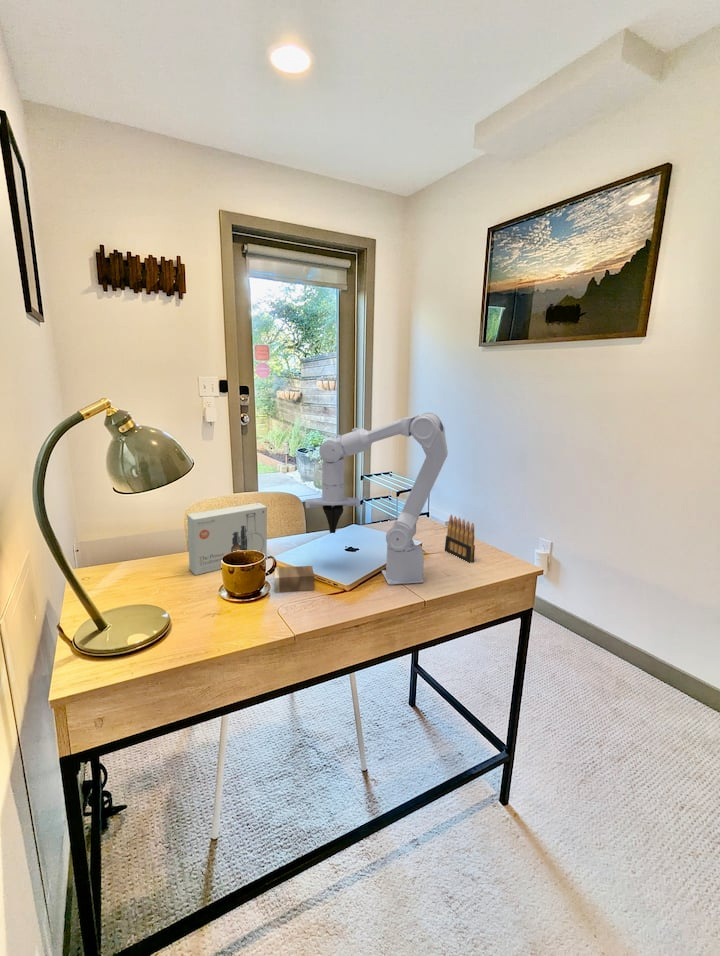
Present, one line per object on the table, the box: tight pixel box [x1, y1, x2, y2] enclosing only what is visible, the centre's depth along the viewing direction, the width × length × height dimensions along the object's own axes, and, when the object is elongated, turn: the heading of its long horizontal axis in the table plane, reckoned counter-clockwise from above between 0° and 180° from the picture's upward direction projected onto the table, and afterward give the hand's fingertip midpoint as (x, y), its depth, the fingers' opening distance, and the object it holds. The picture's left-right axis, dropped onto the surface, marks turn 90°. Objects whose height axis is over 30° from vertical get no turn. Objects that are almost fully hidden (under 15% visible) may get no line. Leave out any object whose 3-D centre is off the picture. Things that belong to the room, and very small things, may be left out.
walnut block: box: [274, 565, 315, 593], centre depth 112 cm, size 4×6×10 cm
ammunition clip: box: [444, 514, 476, 564], centre depth 132 cm, size 11×2×12 cm, turn 32°
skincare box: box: [186, 502, 268, 576], centre depth 122 cm, size 21×6×16 cm, turn 129°
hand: (332, 531), depth 121 cm, fingers closed
